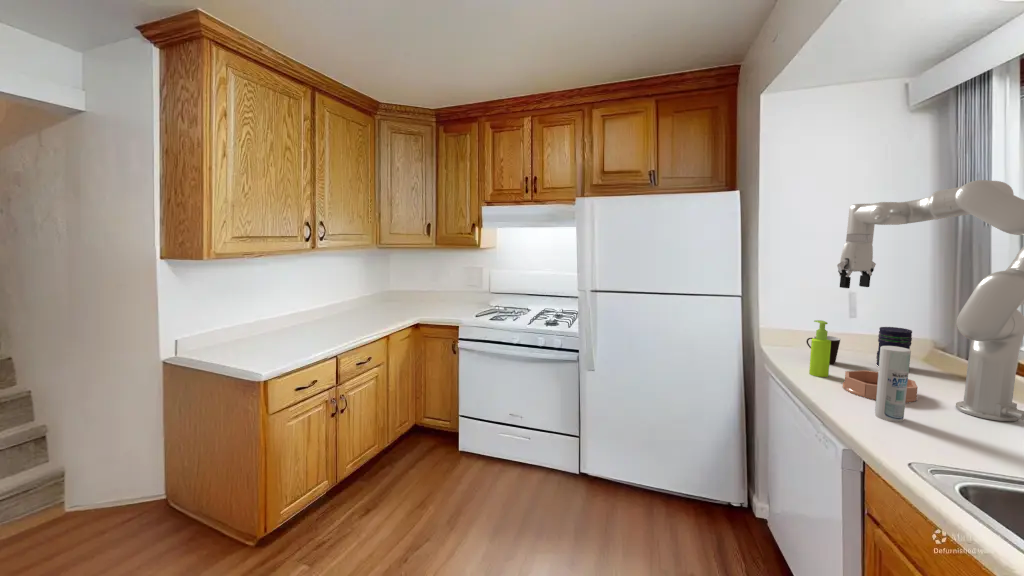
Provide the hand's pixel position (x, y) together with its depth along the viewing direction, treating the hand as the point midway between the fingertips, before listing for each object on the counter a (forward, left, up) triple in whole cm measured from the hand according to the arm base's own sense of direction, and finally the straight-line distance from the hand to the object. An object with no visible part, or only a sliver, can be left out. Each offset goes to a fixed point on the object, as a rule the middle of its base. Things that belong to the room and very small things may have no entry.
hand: (854, 287), depth 162 cm
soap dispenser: (+3, +9, -33) cm, 34 cm away
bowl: (-17, +5, -33) cm, 37 cm away
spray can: (-35, +21, -33) cm, 52 cm away
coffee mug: (+18, -7, -33) cm, 38 cm away
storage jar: (+6, -26, -33) cm, 42 cm away
